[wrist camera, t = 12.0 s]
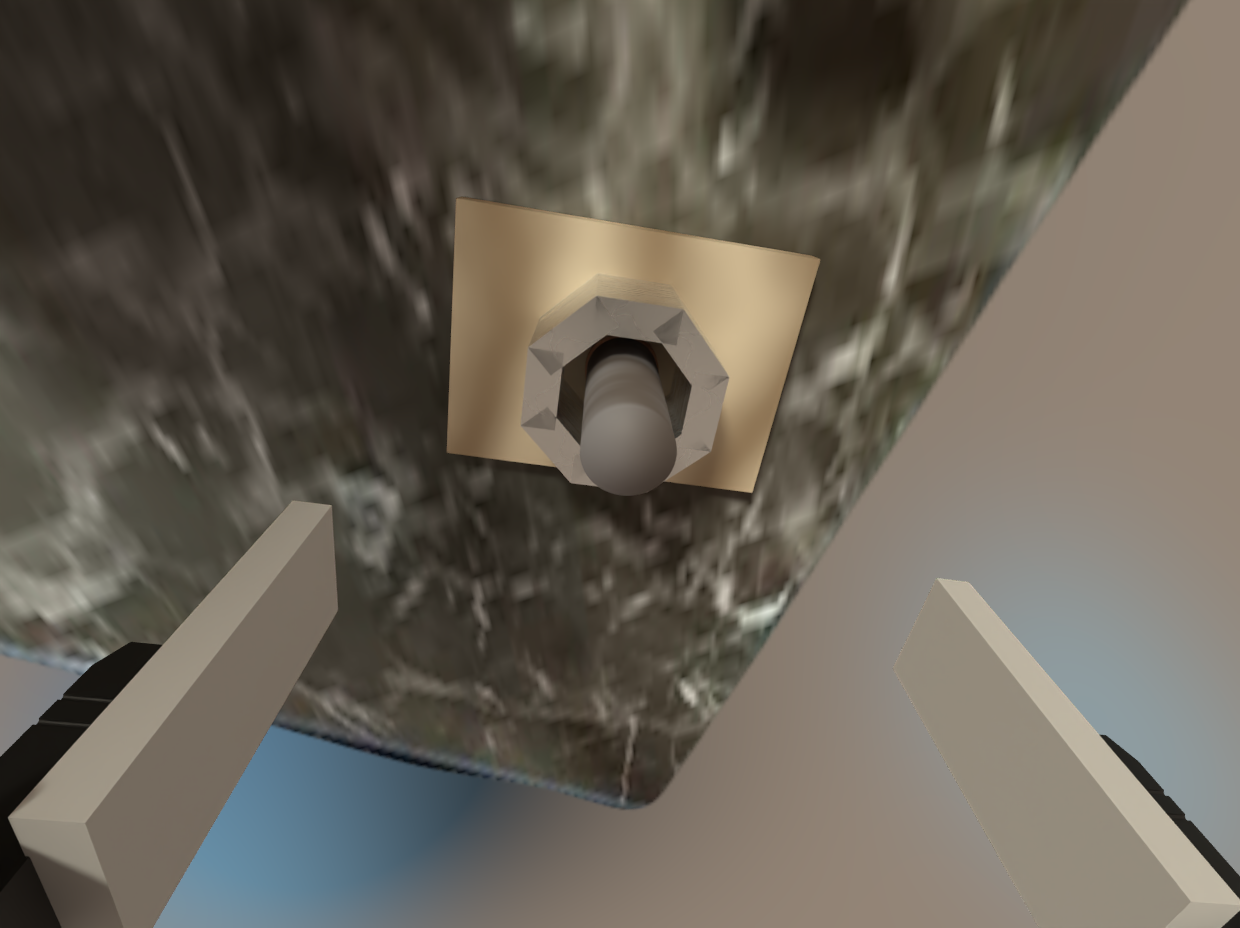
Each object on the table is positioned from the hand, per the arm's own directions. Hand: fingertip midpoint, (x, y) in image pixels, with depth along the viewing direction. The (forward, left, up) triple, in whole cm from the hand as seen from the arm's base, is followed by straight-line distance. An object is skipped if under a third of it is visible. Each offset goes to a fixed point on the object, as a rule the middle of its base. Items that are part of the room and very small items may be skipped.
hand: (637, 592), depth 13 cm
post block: (0, 0, -19) cm, 19 cm away
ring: (0, 0, -17) cm, 17 cm away
